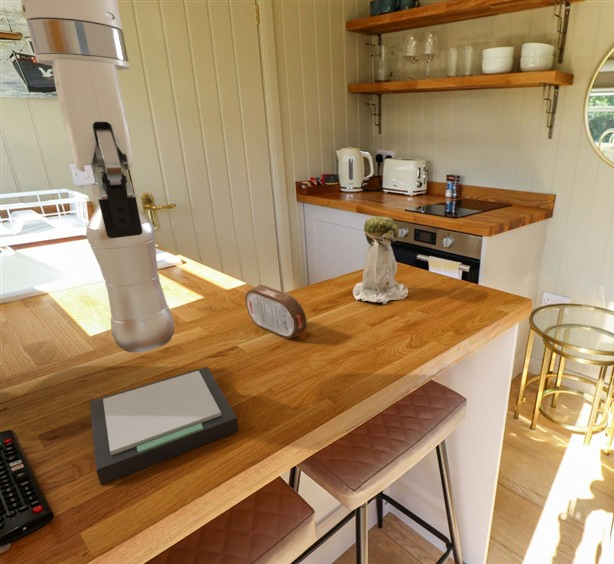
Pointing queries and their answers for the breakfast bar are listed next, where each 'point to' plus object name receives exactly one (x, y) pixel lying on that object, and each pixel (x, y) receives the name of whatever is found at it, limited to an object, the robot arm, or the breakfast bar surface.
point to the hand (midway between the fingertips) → (121, 228)
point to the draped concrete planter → (380, 263)
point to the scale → (158, 422)
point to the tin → (276, 311)
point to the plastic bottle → (131, 283)
